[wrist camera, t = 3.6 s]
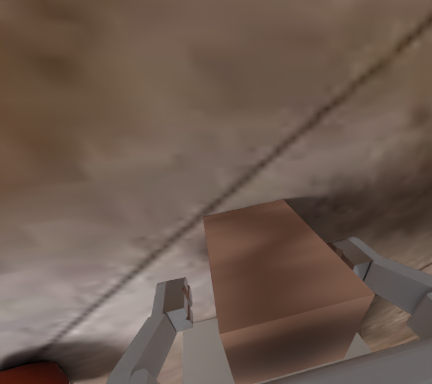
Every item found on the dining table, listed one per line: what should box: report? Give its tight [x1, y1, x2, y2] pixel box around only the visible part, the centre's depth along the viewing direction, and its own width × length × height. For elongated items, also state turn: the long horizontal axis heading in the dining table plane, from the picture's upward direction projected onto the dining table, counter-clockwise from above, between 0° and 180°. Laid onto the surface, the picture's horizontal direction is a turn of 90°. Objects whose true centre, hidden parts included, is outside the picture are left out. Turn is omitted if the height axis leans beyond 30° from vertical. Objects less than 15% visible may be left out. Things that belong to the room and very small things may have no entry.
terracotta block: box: [203, 199, 375, 384], centre depth 9 cm, size 5×5×6 cm
